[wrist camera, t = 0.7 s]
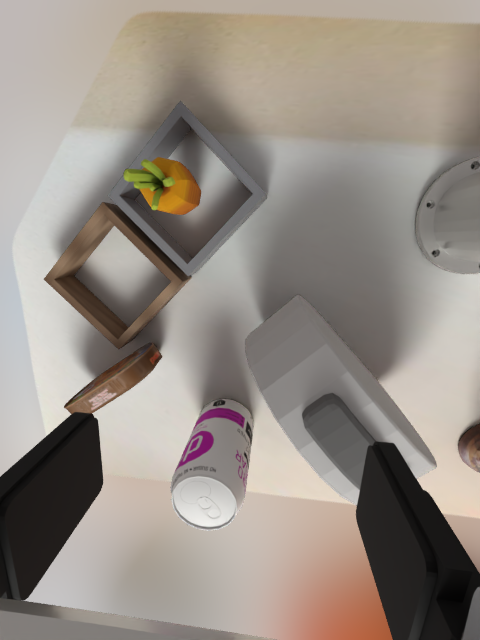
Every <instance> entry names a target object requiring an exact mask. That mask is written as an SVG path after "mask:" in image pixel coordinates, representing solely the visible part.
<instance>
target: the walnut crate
mask: <svg viewBox="0 0 480 640" xmlns="http://www.w3.org/2000/svg"><path fill="white" fill-rule="evenodd" d="M114 225H115V226H116V227H117V228H118V229H119V230H120V231H121V232H122V233H123V234H124V235H125V236H126V237H127V238H128V239H129V240H130V241H131V242H132V243H133V244H134V245H135V246H136V247H137V248H138V249H139V250H140V251H141V252H142V253H143V254H144V255H145V256H146V257H147V258H148V259H149V260H150V261H151V262H152V263H153V264H154V265H155V266H156V267H157V268H158V269H159V270H160V271H161V272H162V273H163V274H164V275H165V276H166V277H167V278H168V279H169V280H170V281H171V283H170V284H169V285H168V286H167V287H166V288H165V289H164V290H163V291H162V292H161V293H160V294H159V296H158V297H157V298H156V299H155V300H154V301H153V302H152V303H151V304H150V305H149V306H148V307H147V308H146V310H145V311H144V312H143V313H142V314H141V315H140V316H139V317H138V318H137V319H136V320H135V321H134V322H133V324H132V325H131V326H130V327H128V326H126V325H125V324H124V323H123V322H122V321H121V320H120V319H119V318H118V317H117V316H116V315H115V314H114V313H113V312H112V311H111V310H110V309H109V308H107V307H106V306H105V305H104V304H103V303H102V302H101V301H100V300H99V299H98V298H97V297H96V296H95V295H94V294H93V293H92V292H91V291H90V290H89V289H87V288H86V287H85V286H84V285H83V284H82V283H81V282H80V281H79V280H78V279H77V278H76V277H75V276H74V275H75V274H76V272H77V271H78V270H79V269H80V267H81V266H82V265H83V264H84V262H85V261H86V260H87V259H88V257H89V256H90V255H91V254H92V252H93V251H94V250H95V249H96V247H97V246H98V245H99V244H100V242H101V241H102V240H103V239H104V237H105V236H106V235H107V234H108V232H109V231H110V230H111V229H112V227H113V226H114ZM190 279H191V277H190V276H187V275H186V274H185V273H184V272H183V271H182V270H181V269H180V268H179V267H178V266H177V265H176V264H175V263H174V262H173V261H172V260H171V259H170V258H169V257H168V256H167V255H166V254H165V253H164V252H163V251H162V250H161V249H160V248H159V247H158V246H157V245H156V244H155V243H154V242H153V241H152V240H151V239H150V238H149V237H148V236H147V235H146V234H145V233H144V232H143V231H142V230H141V229H140V228H139V227H138V226H137V225H136V224H135V223H134V222H133V221H132V220H131V219H130V218H129V217H128V216H127V215H126V214H125V213H124V212H123V211H122V210H121V209H120V208H119V207H118V206H117V205H114V204H109V203H104V202H102V204H101V205H100V206H99V208H98V209H97V210H96V212H95V213H94V214H93V215H92V217H91V218H90V219H89V221H88V222H87V223H86V225H85V226H84V227H83V229H82V230H81V231H80V232H79V234H78V235H77V236H76V238H75V239H74V240H73V242H72V243H71V244H70V246H69V247H68V248H67V249H66V251H65V252H64V253H63V255H62V256H61V257H60V259H59V260H58V261H57V263H56V264H55V265H54V266H53V268H52V269H51V270H50V272H49V273H48V274H47V276H46V277H45V278H44V280H45V281H46V282H47V283H48V284H49V285H50V286H51V287H53V288H54V289H55V290H56V291H57V292H58V293H59V294H60V295H61V296H62V297H63V298H64V299H65V300H66V301H68V302H69V303H70V304H71V305H72V306H73V307H74V308H75V309H76V310H77V311H78V312H79V313H80V314H81V315H82V316H84V317H85V318H86V319H87V320H88V321H89V322H90V323H91V324H92V325H93V326H94V327H95V328H96V329H97V330H99V331H100V332H101V333H102V334H103V335H104V336H105V337H106V338H107V339H108V340H109V341H110V342H111V343H112V344H114V345H115V346H116V347H117V348H118V349H120V348H122V347H123V346H125V345H126V344H127V343H129V342H130V341H132V340H133V339H134V338H135V337H136V336H137V335H138V334H139V332H140V331H141V330H142V329H143V328H144V327H145V326H146V325H147V324H148V323H149V322H150V321H151V320H152V319H153V318H154V317H155V316H156V315H157V314H158V312H159V311H160V310H161V309H162V308H163V307H164V306H165V305H166V304H167V303H168V302H169V301H170V300H171V299H172V298H173V297H174V296H175V295H176V294H177V292H178V291H179V290H180V289H181V288H182V287H183V286H184V285H185V284H186V283H187V282H188V281H189V280H190Z"/></svg>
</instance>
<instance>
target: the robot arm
mask: <svg viewBox="0 0 480 640" xmlns="http://www.w3.org/2000/svg"><path fill="white" fill-rule="evenodd" d="M471 165H472V169H471ZM427 203H428V204H429V207H427V206H426V205H427ZM415 223H416V236H417V241H418V244H419V246H420V248H421V250H422V252H423V253H424V255H425V256H426V257H427V258H428V260H430V261H431V262H432V263H433V264H435V265H436V266H438V267H440V268H442V269H444V270H447V271H450V272H454V273H460V274H477V273H480V266H479V264H480V157H476V158H473V159H470V160H467V161H464V162H462V163H460V164H458V165H455V166H454V167H452V168H451V169H449V170H448V171H446V172H444V173H443V174H442V175H441V176H440V177H439V178H438V179H437V180H435V181H434V183H433V184H432V185H431V186H430V188H429V189H428V190H427V192H426V193H425V195H424V197H423V199H422V200H421V203H420V206H419V208H418V211H417V217H416V222H415ZM433 251H434V254H433V255H432V252H433ZM102 485H103V472H102V461H101V450H100V438H99V427H98V420H97V419H96V418H94V416H93V414H91V413H83V412H74V413H73V414H71V415H70V416H69V417H68V418H67V419H66V420H65V421H63V422H62V423H61V424H60V425H59V426H58V427H57V428H55V429H54V430H53V431H52V432H51V433H50V434H49V435H47V436H46V437H45V438H44V439H43V440H42V441H41V442H39V443H38V444H37V445H36V446H35V447H34V448H33V449H31V450H30V451H29V452H28V453H27V454H26V455H25V456H23V457H22V458H21V459H20V460H19V461H18V462H17V463H15V464H14V465H13V466H12V467H11V468H10V469H9V470H8V471H6V472H5V473H4V474H3V475H2V476H1V477H0V640H275V639H268V638H263V637H257V636H250V635H244V634H238V633H232V632H225V631H219V630H213V629H206V628H200V627H193V626H187V625H180V624H174V623H167V622H161V621H155V620H148V619H142V618H135V617H128V616H122V615H116V614H108V613H102V612H95V611H88V610H82V609H75V608H68V607H61V606H55V605H48V604H41V603H33V602H27V601H21V600H25V599H27V598H28V597H29V595H30V594H31V593H32V592H33V590H34V588H35V587H36V586H37V584H38V582H39V581H40V580H41V578H42V577H43V575H44V574H45V572H46V571H47V569H48V568H49V566H50V565H51V563H52V562H53V561H54V559H55V558H56V556H57V555H58V553H59V552H60V550H61V549H62V547H63V546H64V544H65V543H66V541H67V540H68V538H69V537H70V535H71V534H72V532H73V531H74V529H75V528H76V527H77V525H78V524H79V522H80V520H81V519H82V518H83V516H84V515H85V513H86V512H87V510H88V509H89V507H90V506H91V504H92V503H93V501H94V500H95V498H96V497H97V496H98V494H99V492H100V491H101V488H102ZM356 519H357V524H358V527H359V530H360V534H361V537H362V540H363V543H364V547H365V550H366V553H367V556H368V560H369V563H370V566H371V570H372V573H373V576H374V579H375V583H376V586H377V589H378V592H379V596H380V599H381V602H382V606H383V609H384V611H385V615H386V619H387V622H388V625H389V628H390V632H391V635H392V638H393V640H480V573H479V572H478V571H477V569H476V567H475V565H474V564H473V562H472V561H471V559H470V557H469V556H468V554H467V553H466V551H465V549H464V548H463V546H462V545H461V543H460V541H459V540H458V538H457V537H456V535H455V534H454V532H453V530H452V529H451V527H450V525H449V524H448V522H447V521H446V519H445V517H444V516H443V514H442V513H441V511H440V510H439V508H438V506H437V505H436V503H435V502H434V500H433V498H432V497H431V496H430V494H429V493H428V492H426V491H425V490H423V489H422V488H421V486H420V484H419V483H418V481H417V479H416V478H415V476H414V474H413V473H412V471H411V470H410V468H409V466H408V465H407V463H406V461H405V460H404V458H403V456H402V455H401V453H400V451H399V450H398V448H397V447H396V445H395V444H394V443H388V442H378V441H375V442H374V444H373V446H371V445H369V446H368V448H367V453H366V459H365V464H364V470H363V475H362V481H361V486H360V492H359V498H358V503H357V509H356Z"/></svg>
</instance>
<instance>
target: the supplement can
mask: <svg viewBox="0 0 480 640" xmlns="http://www.w3.org/2000/svg"><path fill="white" fill-rule="evenodd" d="M253 427H254V425H253V418H252V416H251V414H250V413H249V411H248V410H247V409H246V408H245V407H244V406H243V405H242V404H240V403H238V402H236V401H233V400H229V399H219V400H215V401H212V402H210V403H209V404H207V405H206V406H205V407H204V409H203V410H202V411H201V413H200V415H199V418H198V420H197V422H196V425H195V427H194V429H193V431H192V434H191V436H190V438H189V441H188V443H187V445H186V447H185V450H184V452H183V454H182V457H181V459H180V461H179V464H178V466H177V468H176V470H175V473H174V475H173V477H172V482H171V493H172V499H171V500H172V505H173V508H174V511H175V512H176V513H177V515H178V516H179V518H180V519H182V520H183V521H184V522H185V523H186V524H188V525H190V526H192V527H194V528H197V529H201V530H208V531H211V530H218V529H221V528H223V527H225V526H227V525H229V524H230V523H231V521H232V520H233V519H234V518H235V515H236V514H237V513H238V511H239V510H240V509H241V508H242V506H243V502H244V498H245V492H246V484H247V476H248V468H249V460H250V452H251V444H252V436H253Z"/></svg>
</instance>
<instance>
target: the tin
mask: <svg viewBox="0 0 480 640" xmlns="http://www.w3.org/2000/svg"><path fill="white" fill-rule="evenodd" d="M161 358H162V355H161V353H160V352H159V351H158V349H157V348H156V347H155V346H154V343H153V342H151V343H148V344H146V345H145V346H143V347H141V348H140V349H138V350H137V351H135V352H134V353H132V354H131V355H129V356H128V357H126V358H125V359H123V360H122V361H120V362H119V363H117V364H116V365H114V366H113V367H111V368H110V369H108V370H107V371H105V372H104V373H102V374H101V375H100V376H98V377H97V378H95V379H94V380H93V381H92V382H90V383H89V384H88V385H87V386H85V387H84V388H83V389H82V390H81V391H79V392H78V393H77V394H76V395H75V396H74V397H72V398H71V399H70V400H69V401H68V402H67V403H66V404H65V406H64V408H66V409H67V410H68V411H69V412H70V413H71V414H73V413H74V412H83V413H91V414H92V413H93V412H95V411H97V410H98V409H100V408H101V407H103V406H105V405H106V404H108V403H109V402H111V401H113V400H114V399H116V398H117V397H119V396H120V395H122V394H123V393H125V392H126V391H128V390H129V389H131V388H132V387H134V386H135V385H136V384H138V383H139V382H140V381H142V380H143V379H144V378H145V377H146V376H147V375H148V374H149V373H150V372H151V371H152V370H153V369H154V368H155V366H156V365H157V363H158V362H159V361H160V359H161Z"/></svg>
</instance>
